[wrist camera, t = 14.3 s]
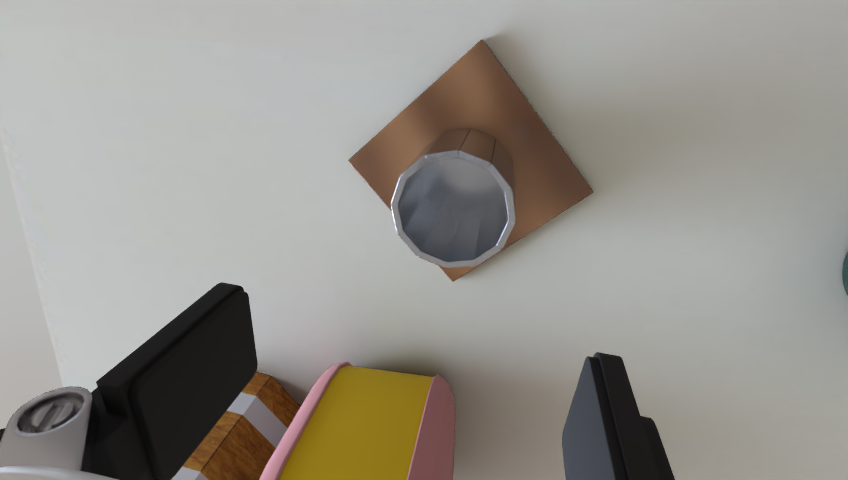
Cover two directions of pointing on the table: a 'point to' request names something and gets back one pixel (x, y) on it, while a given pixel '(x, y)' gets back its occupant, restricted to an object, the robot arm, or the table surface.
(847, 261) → the dark green cylinder
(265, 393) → the mug
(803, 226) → the table surface
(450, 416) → the alarm clock
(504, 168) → the cup
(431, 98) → the coaster mat
